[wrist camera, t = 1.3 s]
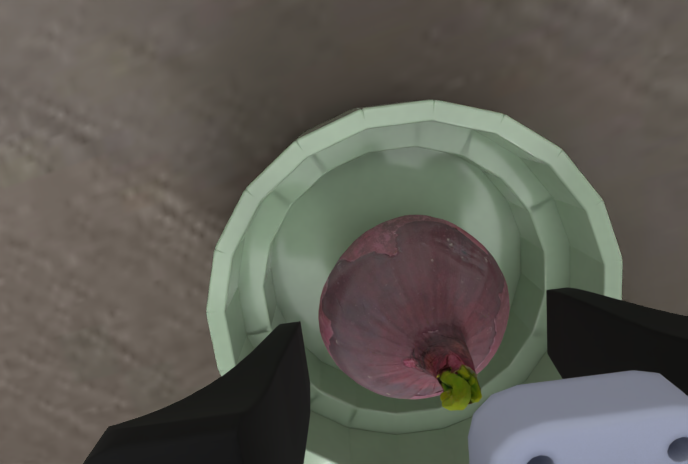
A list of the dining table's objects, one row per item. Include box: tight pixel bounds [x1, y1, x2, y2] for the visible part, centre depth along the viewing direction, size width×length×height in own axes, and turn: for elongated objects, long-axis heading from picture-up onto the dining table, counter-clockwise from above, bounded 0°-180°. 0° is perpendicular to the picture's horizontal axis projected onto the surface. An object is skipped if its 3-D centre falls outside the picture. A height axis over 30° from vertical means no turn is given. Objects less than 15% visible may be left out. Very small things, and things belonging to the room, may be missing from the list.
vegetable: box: [318, 215, 510, 411], centre depth 15 cm, size 6×6×10 cm
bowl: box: [206, 99, 623, 464], centre depth 18 cm, size 13×13×5 cm
